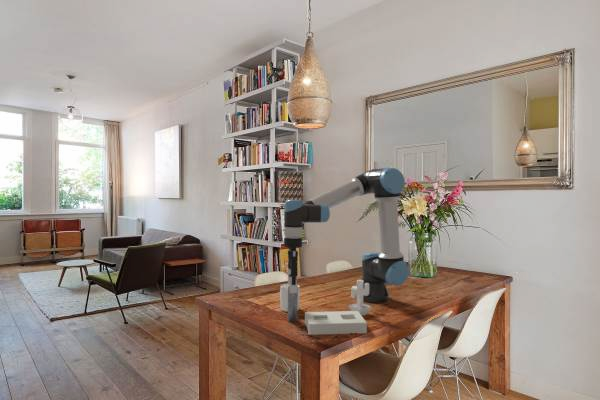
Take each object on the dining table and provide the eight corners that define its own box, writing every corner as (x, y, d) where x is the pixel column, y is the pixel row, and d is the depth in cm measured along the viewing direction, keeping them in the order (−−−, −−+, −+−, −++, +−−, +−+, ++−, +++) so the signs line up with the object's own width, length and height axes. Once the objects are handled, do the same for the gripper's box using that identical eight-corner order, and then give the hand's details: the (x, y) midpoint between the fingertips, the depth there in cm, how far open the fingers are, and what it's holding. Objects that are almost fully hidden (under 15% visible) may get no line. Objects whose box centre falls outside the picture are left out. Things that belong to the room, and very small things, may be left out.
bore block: (357, 320, 155) (357, 310, 155) (366, 333, 142) (366, 322, 141) (304, 321, 153) (305, 312, 153) (309, 334, 139) (309, 324, 139)
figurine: (357, 309, 170) (357, 276, 169) (373, 315, 162) (374, 280, 162) (346, 312, 165) (346, 279, 165) (362, 318, 158) (362, 283, 157)
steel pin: (296, 318, 157) (297, 285, 157) (297, 321, 153) (298, 287, 153) (287, 318, 157) (287, 285, 156) (287, 322, 153) (288, 288, 152)
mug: (287, 303, 178) (287, 281, 178) (303, 309, 169) (303, 286, 168) (272, 306, 173) (272, 283, 172) (287, 313, 163) (288, 289, 163)
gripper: (282, 233, 166) (281, 281, 166) (285, 240, 141) (284, 296, 142) (299, 233, 167) (298, 281, 167) (305, 241, 142) (304, 296, 142)
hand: (292, 288), depth 154 cm, fingers open, 13 cm apart
